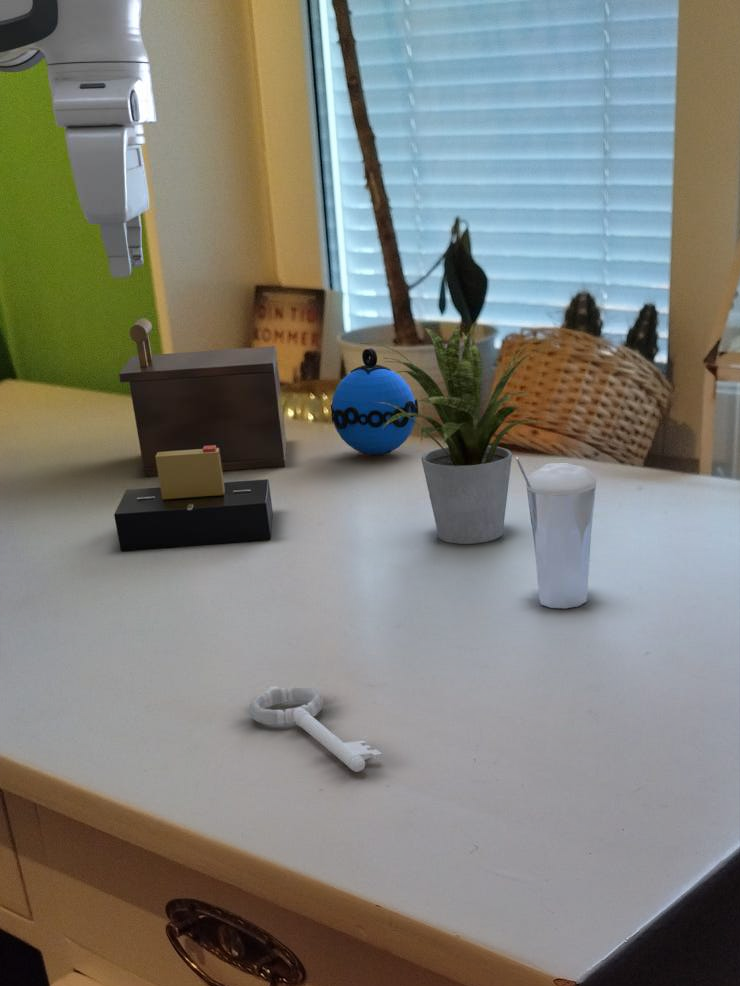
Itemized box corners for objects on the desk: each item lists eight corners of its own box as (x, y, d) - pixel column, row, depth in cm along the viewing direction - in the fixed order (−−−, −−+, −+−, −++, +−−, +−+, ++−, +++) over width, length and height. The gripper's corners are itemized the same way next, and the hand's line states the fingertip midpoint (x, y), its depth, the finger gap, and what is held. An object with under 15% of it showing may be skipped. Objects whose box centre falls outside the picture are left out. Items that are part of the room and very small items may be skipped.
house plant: (344, 526, 109) (323, 315, 101) (491, 499, 114) (483, 297, 106) (416, 569, 98) (399, 336, 90) (576, 537, 103) (574, 314, 95)
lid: (120, 382, 123) (111, 330, 121) (133, 364, 133) (125, 315, 130) (274, 371, 124) (267, 319, 122) (276, 354, 134) (270, 305, 131)
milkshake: (508, 598, 91) (503, 451, 86) (579, 587, 92) (578, 441, 87) (534, 618, 87) (530, 465, 82) (607, 605, 89) (607, 454, 84)
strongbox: (144, 476, 128) (128, 382, 123) (155, 452, 137) (141, 363, 133) (285, 466, 129) (274, 372, 124) (286, 443, 138) (276, 354, 134)
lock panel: (119, 553, 105) (112, 514, 103) (133, 522, 113) (126, 485, 111) (270, 541, 106) (265, 502, 104) (273, 512, 114) (268, 475, 112)
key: (304, 691, 77) (237, 707, 76) (303, 677, 77) (235, 692, 75) (397, 765, 68) (322, 785, 66) (396, 749, 68) (321, 768, 66)
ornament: (317, 456, 132) (306, 351, 127) (384, 441, 137) (376, 339, 132) (370, 469, 126) (361, 359, 121) (438, 452, 131) (432, 346, 126)
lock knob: (162, 500, 107) (154, 453, 105) (164, 495, 108) (156, 448, 107) (224, 495, 107) (217, 448, 106) (225, 490, 109) (218, 444, 107)
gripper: (84, 105, 126) (108, 263, 132) (48, 102, 108) (77, 284, 115) (151, 103, 126) (172, 260, 133) (126, 99, 108) (151, 281, 115)
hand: (128, 272), depth 124 cm, fingers open, 8 cm apart
